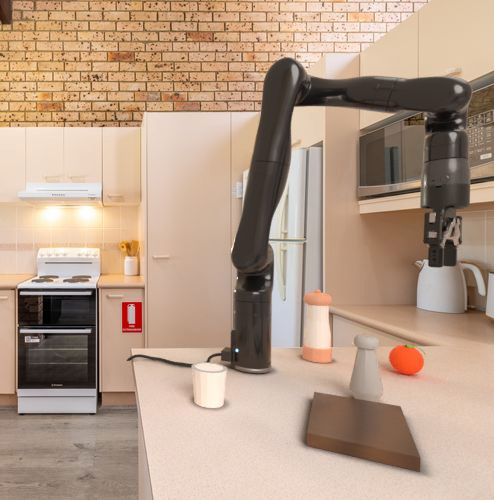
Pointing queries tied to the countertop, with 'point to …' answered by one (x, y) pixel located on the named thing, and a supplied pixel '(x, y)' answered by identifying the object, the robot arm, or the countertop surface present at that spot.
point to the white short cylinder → (209, 384)
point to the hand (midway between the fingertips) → (442, 266)
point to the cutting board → (362, 430)
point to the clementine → (406, 359)
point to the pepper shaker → (317, 328)
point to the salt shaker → (366, 370)
